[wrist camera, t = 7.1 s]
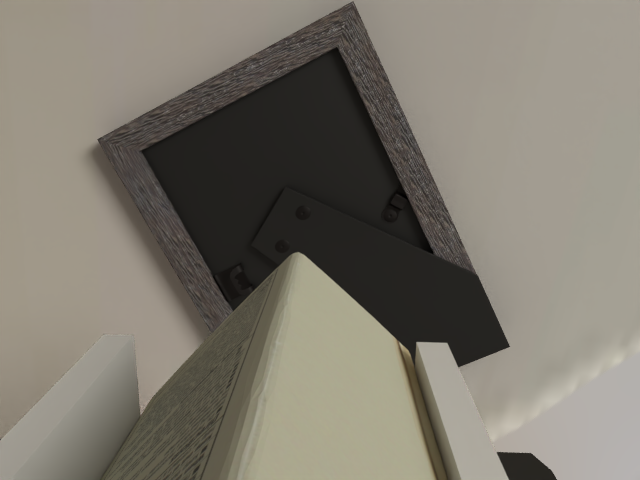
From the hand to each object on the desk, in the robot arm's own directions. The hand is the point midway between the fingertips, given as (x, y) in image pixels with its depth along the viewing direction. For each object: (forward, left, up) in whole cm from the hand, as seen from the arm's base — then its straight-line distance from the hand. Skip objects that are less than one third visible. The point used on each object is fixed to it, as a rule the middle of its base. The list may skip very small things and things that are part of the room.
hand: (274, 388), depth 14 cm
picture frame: (0, 0, -15) cm, 15 cm away
